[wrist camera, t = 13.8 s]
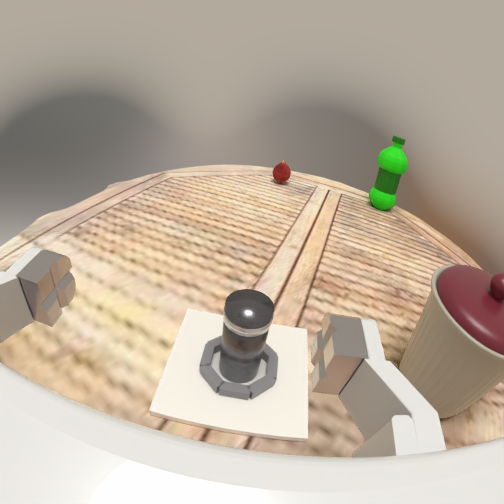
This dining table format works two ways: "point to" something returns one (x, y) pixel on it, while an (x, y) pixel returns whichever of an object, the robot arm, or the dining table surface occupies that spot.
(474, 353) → the canister
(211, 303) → the dining table surface
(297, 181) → the dining table surface
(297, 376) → the mount board
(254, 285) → the dining table surface
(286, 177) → the onion
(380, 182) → the plastic bottle
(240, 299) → the lens tube
